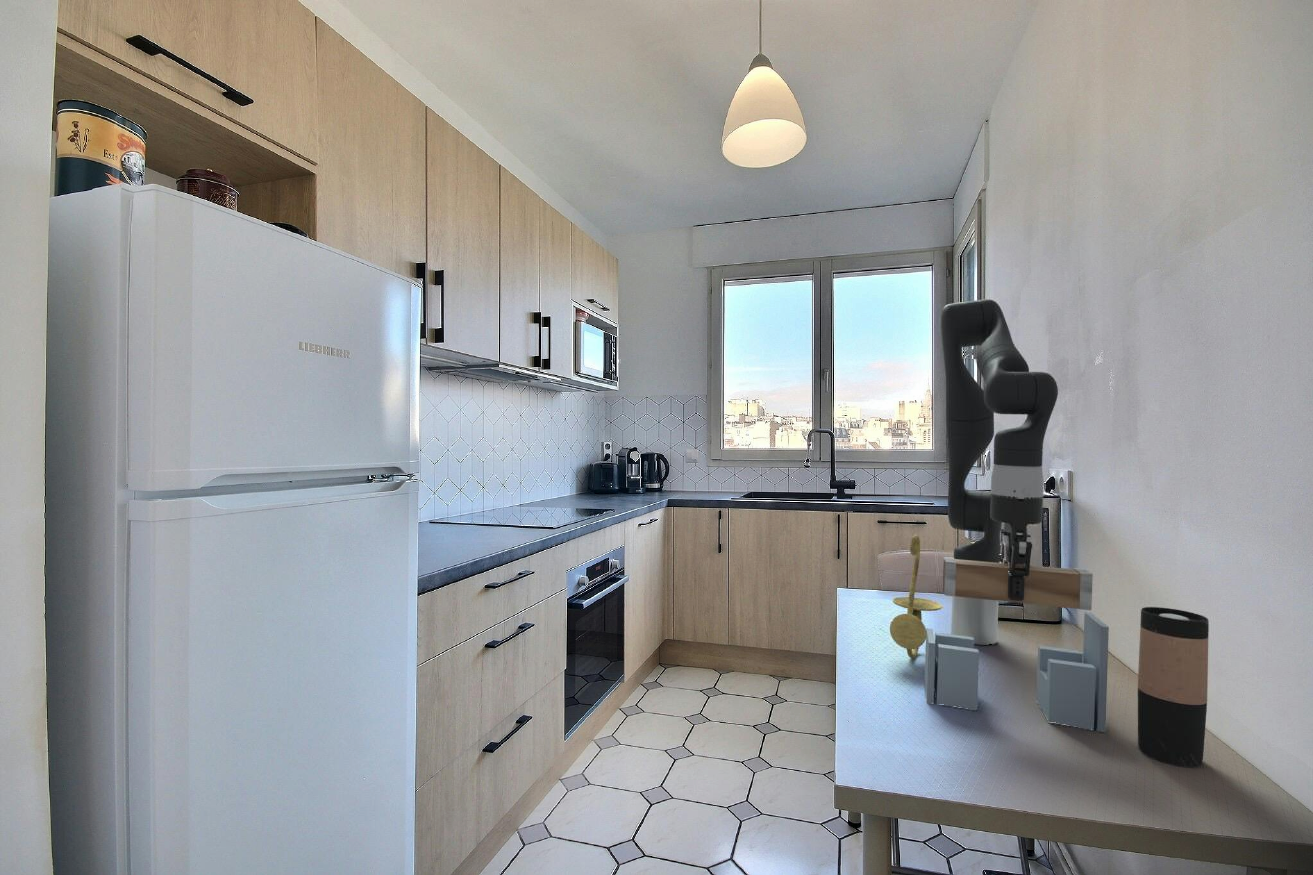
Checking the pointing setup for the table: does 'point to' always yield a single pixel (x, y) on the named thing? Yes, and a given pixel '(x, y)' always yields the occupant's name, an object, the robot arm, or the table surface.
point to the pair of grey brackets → (1061, 676)
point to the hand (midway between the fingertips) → (1013, 595)
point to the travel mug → (1172, 685)
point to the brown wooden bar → (1038, 587)
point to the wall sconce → (912, 611)
